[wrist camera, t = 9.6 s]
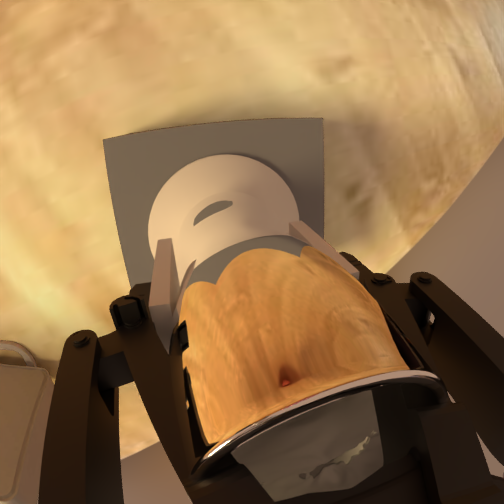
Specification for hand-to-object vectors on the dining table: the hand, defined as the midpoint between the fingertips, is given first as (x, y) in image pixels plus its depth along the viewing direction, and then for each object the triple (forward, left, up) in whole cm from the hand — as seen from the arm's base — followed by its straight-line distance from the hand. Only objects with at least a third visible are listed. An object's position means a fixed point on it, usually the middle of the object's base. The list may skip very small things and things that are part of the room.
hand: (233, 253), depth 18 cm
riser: (0, 0, -12) cm, 12 cm away
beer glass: (0, 0, -2) cm, 2 cm away
